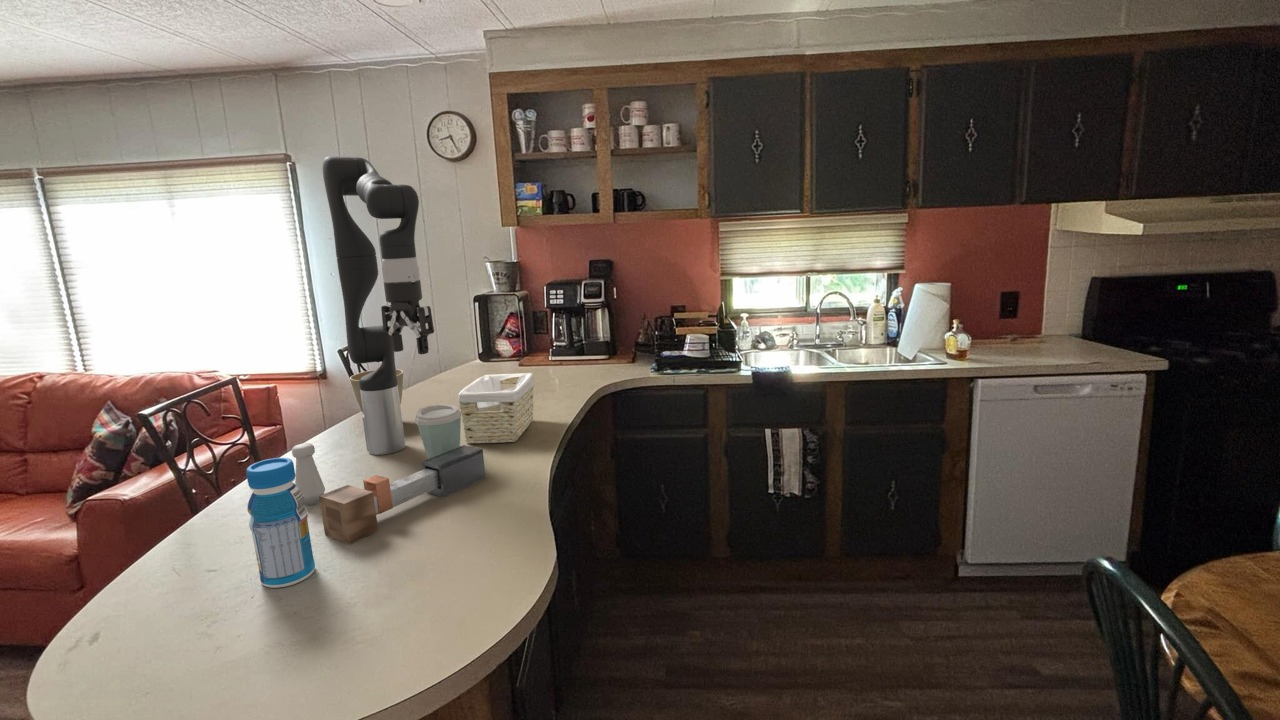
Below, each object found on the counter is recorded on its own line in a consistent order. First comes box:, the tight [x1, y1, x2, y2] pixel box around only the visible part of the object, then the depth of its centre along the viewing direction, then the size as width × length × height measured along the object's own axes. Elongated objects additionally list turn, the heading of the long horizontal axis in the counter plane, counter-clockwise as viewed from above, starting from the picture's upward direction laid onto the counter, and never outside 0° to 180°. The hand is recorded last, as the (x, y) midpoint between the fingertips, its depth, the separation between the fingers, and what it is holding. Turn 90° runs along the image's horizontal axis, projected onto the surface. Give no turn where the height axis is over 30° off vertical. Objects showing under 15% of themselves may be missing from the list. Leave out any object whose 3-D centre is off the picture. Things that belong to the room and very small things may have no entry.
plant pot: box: [349, 368, 404, 416], centre depth 192 cm, size 15×15×16 cm
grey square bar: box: [363, 467, 441, 516], centre depth 131 cm, size 21×4×6 cm, turn 147°
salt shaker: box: [291, 442, 326, 507], centre depth 137 cm, size 6×6×13 cm
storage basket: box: [458, 372, 535, 444], centre depth 181 cm, size 24×16×15 cm
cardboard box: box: [319, 484, 379, 545], centre depth 122 cm, size 6×8×8 cm
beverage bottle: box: [245, 457, 316, 589], centre depth 106 cm, size 8×8×20 cm
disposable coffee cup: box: [414, 403, 462, 460], centre depth 153 cm, size 11×11×15 cm
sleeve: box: [421, 444, 486, 498], centre depth 143 cm, size 12×6×7 cm, turn 147°
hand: (410, 352), depth 142 cm, fingers open, 8 cm apart
